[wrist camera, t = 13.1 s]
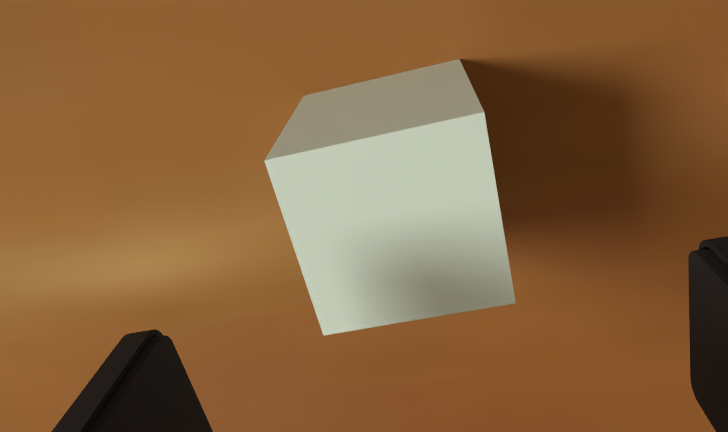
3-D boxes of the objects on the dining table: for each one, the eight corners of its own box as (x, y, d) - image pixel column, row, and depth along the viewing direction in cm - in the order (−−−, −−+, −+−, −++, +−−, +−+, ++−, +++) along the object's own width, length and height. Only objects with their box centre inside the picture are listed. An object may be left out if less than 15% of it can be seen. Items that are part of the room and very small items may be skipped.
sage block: (304, 95, 19) (264, 160, 13) (459, 58, 18) (484, 112, 12) (344, 231, 21) (323, 335, 15) (484, 203, 20) (515, 303, 14)
